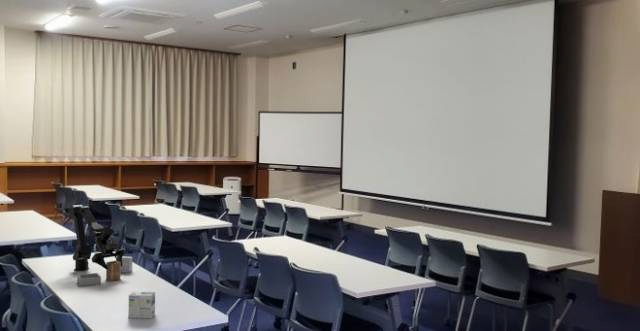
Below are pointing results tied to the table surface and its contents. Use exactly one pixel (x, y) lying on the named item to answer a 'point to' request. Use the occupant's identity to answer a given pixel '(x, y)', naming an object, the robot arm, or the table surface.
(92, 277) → the grey square tray
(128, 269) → the medicine box
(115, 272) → the small crate
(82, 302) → the table surface
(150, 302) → the light bulb box
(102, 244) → the robot arm
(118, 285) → the table surface
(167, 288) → the table surface
